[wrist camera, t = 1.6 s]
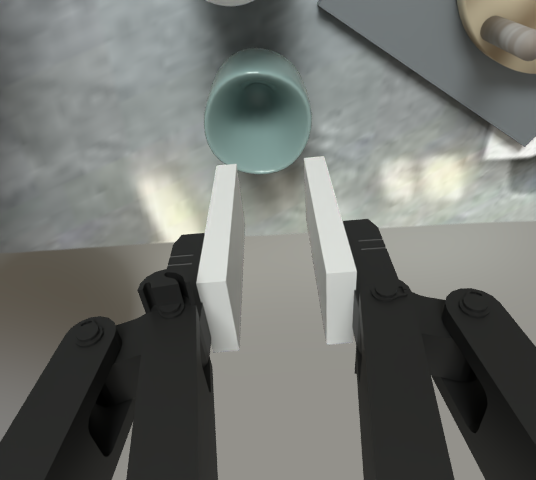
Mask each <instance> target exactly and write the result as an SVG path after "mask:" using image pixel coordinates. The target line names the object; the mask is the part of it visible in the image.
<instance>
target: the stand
mask: <svg viewBox="0 0 536 480" xmlns="http://www.w3.org/2000/svg"><path fill="white" fill-rule="evenodd" d="M317 4H318V5H319V6H320V7H321V8H323V9H324V10H326V11H327V12H329V13H330V14H332V15H333V16H334V17H336V18H337V19H339V20H340V21H342V22H343V23H345V24H346V25H348V26H349V27H351V28H352V29H353V30H355V31H356V32H358V33H359V34H361V35H362V36H364V37H365V38H367V39H368V40H369V41H371V42H372V43H374V44H375V45H377V46H378V47H380V48H381V49H383V50H384V51H386V52H387V53H388V54H390V55H391V56H393V57H394V58H396V59H397V60H399V61H400V62H402V63H403V64H405V65H406V66H407V67H409V68H410V69H412V70H413V71H415V72H416V73H418V74H419V75H421V76H422V77H423V78H425V79H426V80H428V81H429V82H431V83H432V84H434V85H435V86H437V87H438V88H440V89H441V90H442V91H444V92H445V93H447V94H448V95H450V96H451V97H453V98H454V99H456V100H457V101H458V102H460V103H461V104H463V105H464V106H466V107H467V108H469V109H470V110H472V111H473V112H475V113H476V114H477V115H479V116H480V117H482V118H483V119H485V120H486V121H488V122H489V123H491V124H492V125H494V126H495V127H496V128H498V129H499V130H501V131H502V132H504V133H505V134H507V135H508V136H510V137H511V138H512V139H514V140H515V141H517V142H518V143H520V144H521V145H523V146H524V147H525V146H526V145H527V144H528V143H529V142H530V141H531V140H532V139H533V138H534V137H535V136H536V74H529V73H524V72H519V71H515V70H513V69H510V68H508V67H505V66H503V65H502V64H500V63H498V62H496V61H495V60H493V59H491V58H490V57H488V56H487V55H485V54H484V53H483V52H482V51H480V50H479V49H478V48H477V47H476V46H475V44H474V43H473V42H472V41H471V39H470V38H469V36H468V34H467V33H466V31H465V29H464V27H463V24H462V21H461V18H460V15H459V10H458V5H457V0H319V1H318V3H317Z"/></svg>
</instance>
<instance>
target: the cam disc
mask: <svg viewBox="0 0 536 480" xmlns="http://www.w3.org/2000/svg"><path fill="white" fill-rule="evenodd" d="M457 5H458V10H459V15H460V18H461V21H462V24H463V27H464V29H465V31H466V33H467V34H468V36H469V38H470V39H471V41H472V42H473V43H474V44H475V46H476V47H477V48H478V49H479V50H480V51H482V52H483V53H484V54H485V55H487V56H488V57H490V58H491V59H493V60H495V61H496V62H498V63H500V64H502V65H503V66H505V67H508V68H510V69H513V70H515V71H519V72H524V73H529V74H536V0H457Z"/></svg>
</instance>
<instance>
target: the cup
mask: <svg viewBox="0 0 536 480" xmlns="http://www.w3.org/2000/svg"><path fill="white" fill-rule="evenodd" d="M311 125H312V112H311V106H310V101H309V97H308V93H307V90H306V87H305V85H304V82H303V80H302V78H301V75H300V73H299V72H298V70H297V69H296V68H295V66H294V65H293V64H292V63H291V62H290V61H289V60H288V59H287V58H285V57H284V56H282V55H281V54H279V53H277V52H274V51H271V50H269V49H263V48H248V49H244V50H240V51H238V52H236V53H234V54H232V55H231V56H230V57H229V58H228V59H227V60H226V61H225V62H224V63H223V65H222V66H221V67H220V69H219V70H218V72H217V74H216V76H215V79H214V81H213V83H212V86H211V88H210V92H209V95H208V99H207V103H206V107H205V113H204V129H205V136H206V139H207V142H208V145H209V147H210V148H211V150H212V152H213V154H214V155H215V156H216V157H217V158H218V159H219V160H220V161H222V162H223V163H224V164H226V165H228V164H237V170H238V171H242V172H245V173H251V174H270V173H274V172H278V171H280V170H283V169H285V168H287V167H288V166H289V165H291V164H292V163H294V161H295V160H296V159H297V158H298V157H299V156H300V155H301V153H302V151H303V150H304V148H305V146H306V144H307V141H308V139H309V135H310V130H311Z"/></svg>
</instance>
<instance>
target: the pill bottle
mask: <svg viewBox="0 0 536 480" xmlns="http://www.w3.org/2000/svg"><path fill="white" fill-rule="evenodd" d="M205 1H208V2H210V3H213V4H217V5H222V6H239V5H243V4H247V3H250V2H252V1H254V0H205Z"/></svg>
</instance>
